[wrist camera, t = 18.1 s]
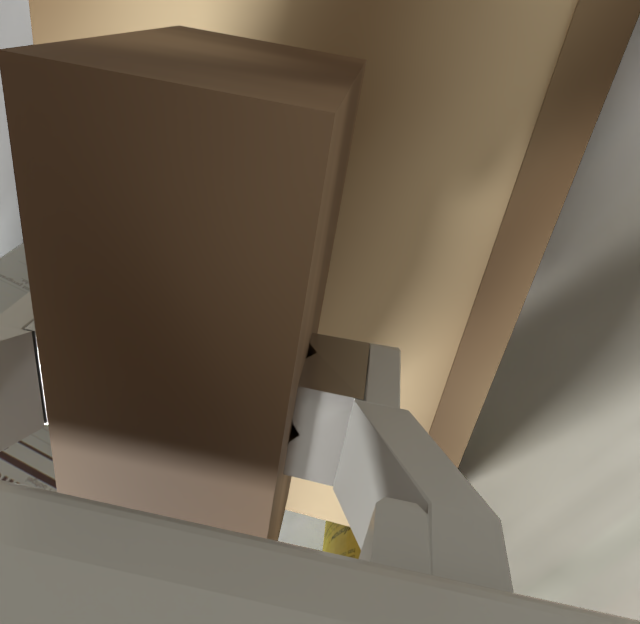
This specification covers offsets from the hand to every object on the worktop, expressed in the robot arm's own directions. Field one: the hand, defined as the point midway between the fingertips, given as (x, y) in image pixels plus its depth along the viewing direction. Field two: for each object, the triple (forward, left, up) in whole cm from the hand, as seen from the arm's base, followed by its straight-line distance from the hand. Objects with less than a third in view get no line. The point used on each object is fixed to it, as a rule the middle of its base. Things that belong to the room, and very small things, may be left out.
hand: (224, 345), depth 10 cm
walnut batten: (0, 0, -2) cm, 2 cm away
